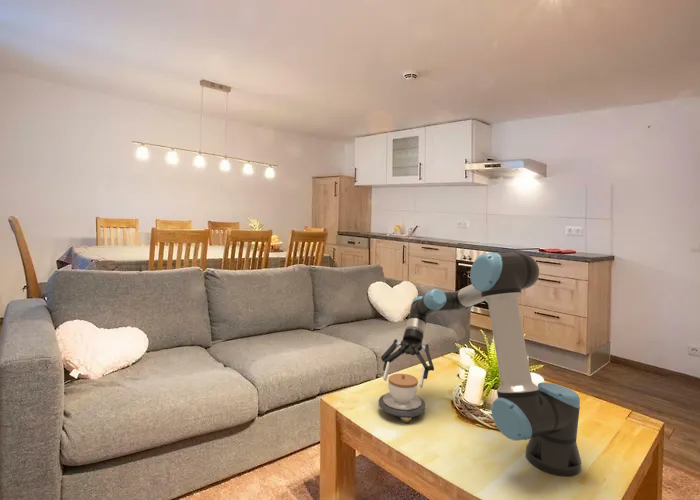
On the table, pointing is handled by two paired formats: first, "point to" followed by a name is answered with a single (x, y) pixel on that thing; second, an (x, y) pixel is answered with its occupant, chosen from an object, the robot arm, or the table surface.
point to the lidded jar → (402, 387)
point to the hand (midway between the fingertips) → (402, 382)
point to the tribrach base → (402, 407)
